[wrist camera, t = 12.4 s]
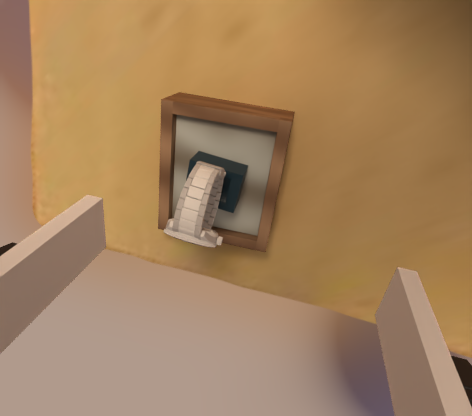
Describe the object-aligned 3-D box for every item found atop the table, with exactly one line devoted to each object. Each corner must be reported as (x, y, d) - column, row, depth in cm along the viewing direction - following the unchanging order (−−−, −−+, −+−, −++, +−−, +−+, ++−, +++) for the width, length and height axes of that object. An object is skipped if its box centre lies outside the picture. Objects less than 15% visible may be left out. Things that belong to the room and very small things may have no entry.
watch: (189, 201, 39) (149, 254, 29) (201, 135, 35) (160, 170, 25) (235, 215, 39) (210, 274, 29) (253, 150, 35) (231, 192, 25)
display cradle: (179, 92, 38) (161, 99, 33) (294, 111, 36) (292, 121, 32) (173, 209, 45) (158, 228, 40) (270, 229, 43) (265, 252, 39)
